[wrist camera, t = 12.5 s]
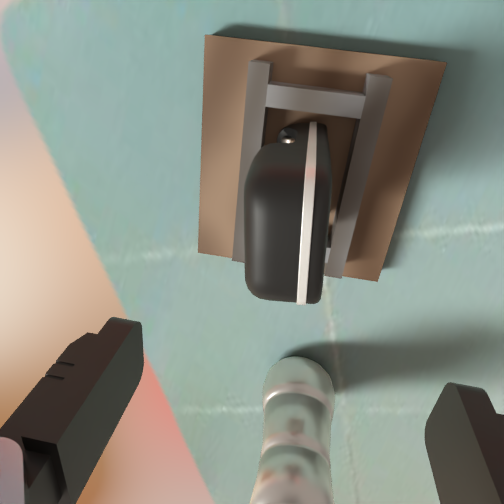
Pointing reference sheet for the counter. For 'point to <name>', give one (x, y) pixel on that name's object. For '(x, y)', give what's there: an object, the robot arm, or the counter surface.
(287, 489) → the plastic bottle
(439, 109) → the counter surface
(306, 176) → the battery charger
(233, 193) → the rail block
